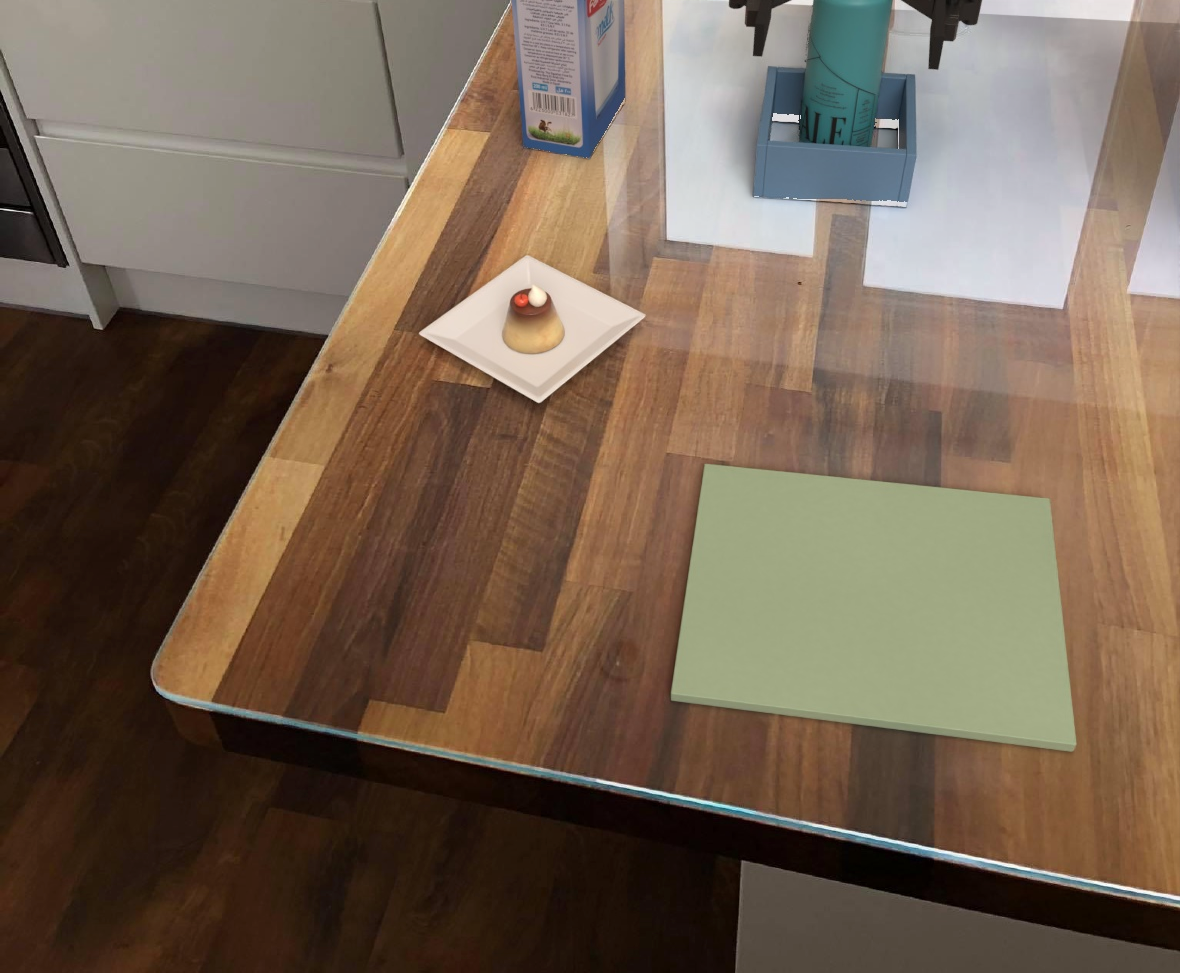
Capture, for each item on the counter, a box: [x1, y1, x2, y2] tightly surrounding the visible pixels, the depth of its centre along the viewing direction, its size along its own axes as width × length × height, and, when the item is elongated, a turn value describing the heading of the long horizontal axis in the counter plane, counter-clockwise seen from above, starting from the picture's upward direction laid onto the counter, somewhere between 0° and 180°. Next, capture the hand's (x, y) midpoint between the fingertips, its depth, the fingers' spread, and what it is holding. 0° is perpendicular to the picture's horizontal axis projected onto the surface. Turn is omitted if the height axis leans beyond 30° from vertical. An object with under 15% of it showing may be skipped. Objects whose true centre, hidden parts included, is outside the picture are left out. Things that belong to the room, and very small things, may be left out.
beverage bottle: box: [796, 0, 894, 147], centre depth 98 cm, size 6×7×20 cm
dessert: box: [418, 254, 647, 404], centre depth 89 cm, size 12×12×5 cm
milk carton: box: [511, 0, 626, 160], centre depth 103 cm, size 10×6×20 cm, turn 160°
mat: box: [670, 463, 1078, 753], centre depth 74 cm, size 22×18×1 cm
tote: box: [752, 65, 918, 203], centre depth 104 cm, size 13×13×5 cm
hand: (846, 47), depth 95 cm, fingers open, 13 cm apart
